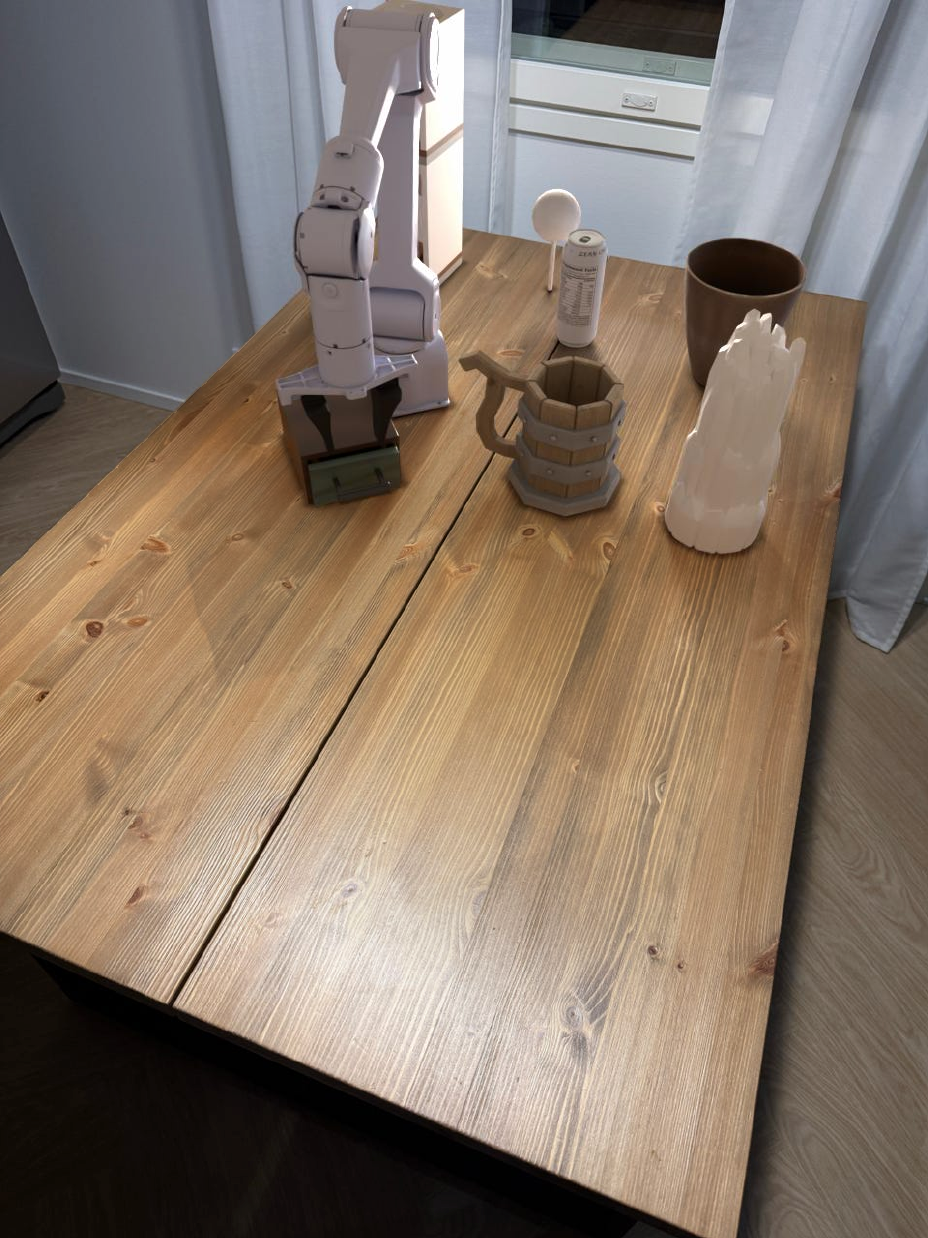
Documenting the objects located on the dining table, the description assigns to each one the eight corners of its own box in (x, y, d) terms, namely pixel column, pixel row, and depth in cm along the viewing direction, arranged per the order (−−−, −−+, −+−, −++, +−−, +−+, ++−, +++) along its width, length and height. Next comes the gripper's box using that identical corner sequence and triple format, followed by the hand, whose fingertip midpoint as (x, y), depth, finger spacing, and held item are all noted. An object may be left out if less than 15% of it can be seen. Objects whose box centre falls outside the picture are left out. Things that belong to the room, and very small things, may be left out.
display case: (404, 248, 147) (393, -3, 120) (462, 262, 144) (464, 8, 117) (369, 279, 140) (350, 20, 114) (429, 295, 137) (423, 33, 111)
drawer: (411, 509, 104) (409, 473, 100) (323, 529, 101) (318, 493, 97) (372, 426, 114) (369, 391, 110) (292, 443, 112) (286, 407, 108)
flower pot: (750, 420, 117) (785, 308, 105) (646, 384, 122) (667, 274, 110) (787, 365, 125) (822, 256, 113) (688, 334, 130) (712, 227, 118)
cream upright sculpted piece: (758, 560, 100) (829, 367, 81) (662, 546, 101) (710, 353, 82) (757, 497, 107) (822, 306, 88) (667, 485, 108) (712, 293, 89)
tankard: (628, 464, 111) (648, 358, 99) (595, 527, 103) (612, 420, 92) (482, 422, 116) (485, 317, 105) (440, 479, 109) (438, 372, 97)
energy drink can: (603, 335, 130) (617, 234, 119) (582, 354, 127) (595, 252, 115) (567, 322, 132) (578, 222, 121) (546, 340, 129) (555, 239, 118)
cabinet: (401, 483, 108) (399, 436, 103) (308, 504, 105) (300, 456, 100) (371, 419, 116) (367, 372, 111) (284, 436, 114) (275, 389, 108)
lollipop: (573, 279, 141) (583, 181, 129) (572, 302, 136) (583, 203, 125) (528, 276, 141) (534, 179, 130) (525, 299, 136) (532, 200, 125)
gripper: (278, 368, 84) (297, 480, 94) (425, 341, 87) (428, 452, 97) (264, 329, 88) (283, 440, 98) (404, 305, 91) (409, 415, 101)
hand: (354, 443), depth 98 cm, fingers open, 5 cm apart
